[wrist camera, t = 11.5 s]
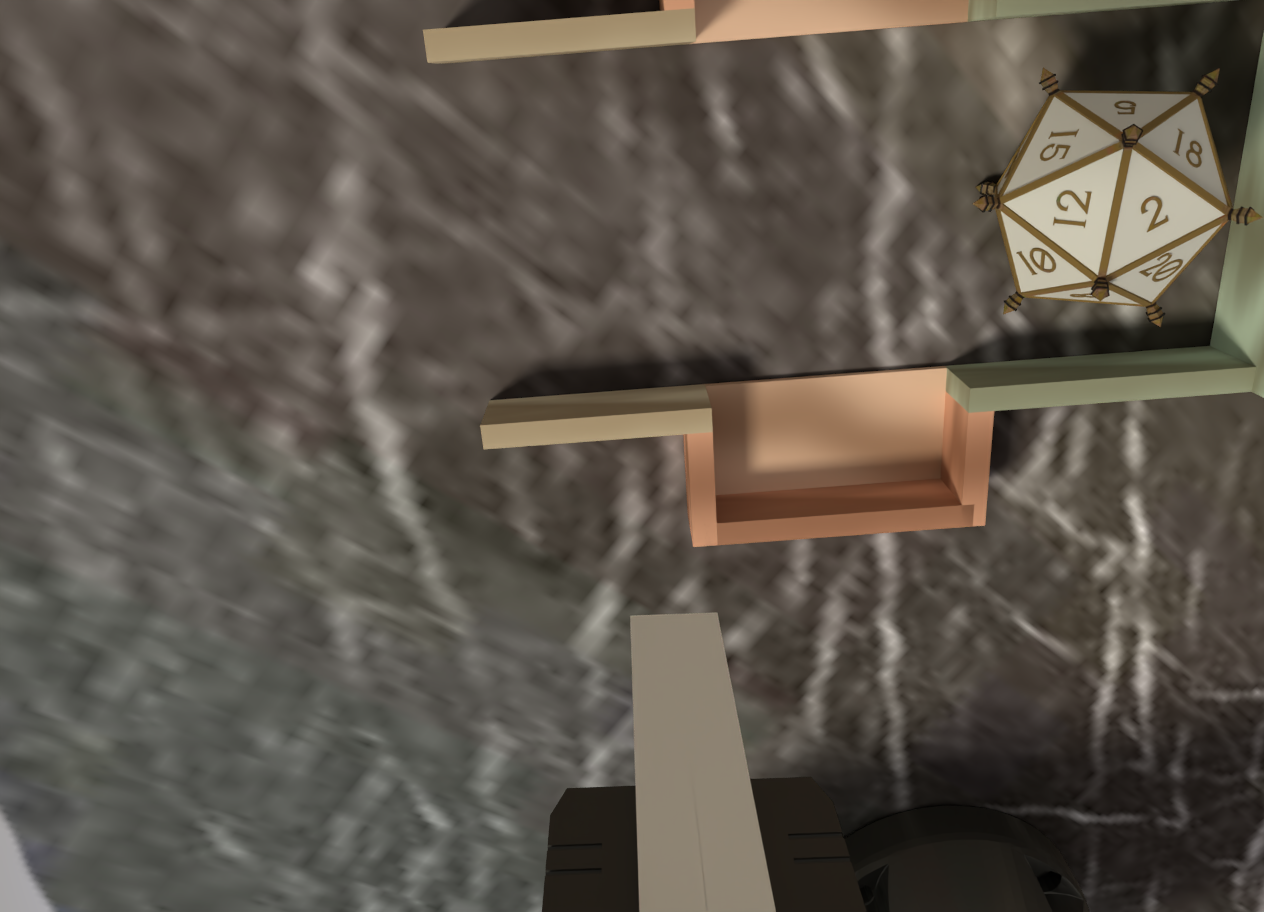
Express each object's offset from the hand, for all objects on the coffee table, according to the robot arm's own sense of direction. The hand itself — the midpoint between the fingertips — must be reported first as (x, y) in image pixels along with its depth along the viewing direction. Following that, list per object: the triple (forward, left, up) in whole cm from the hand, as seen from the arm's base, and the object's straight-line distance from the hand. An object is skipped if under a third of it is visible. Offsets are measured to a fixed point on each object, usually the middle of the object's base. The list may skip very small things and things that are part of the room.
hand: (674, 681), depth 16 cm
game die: (+5, -16, -24) cm, 29 cm away
